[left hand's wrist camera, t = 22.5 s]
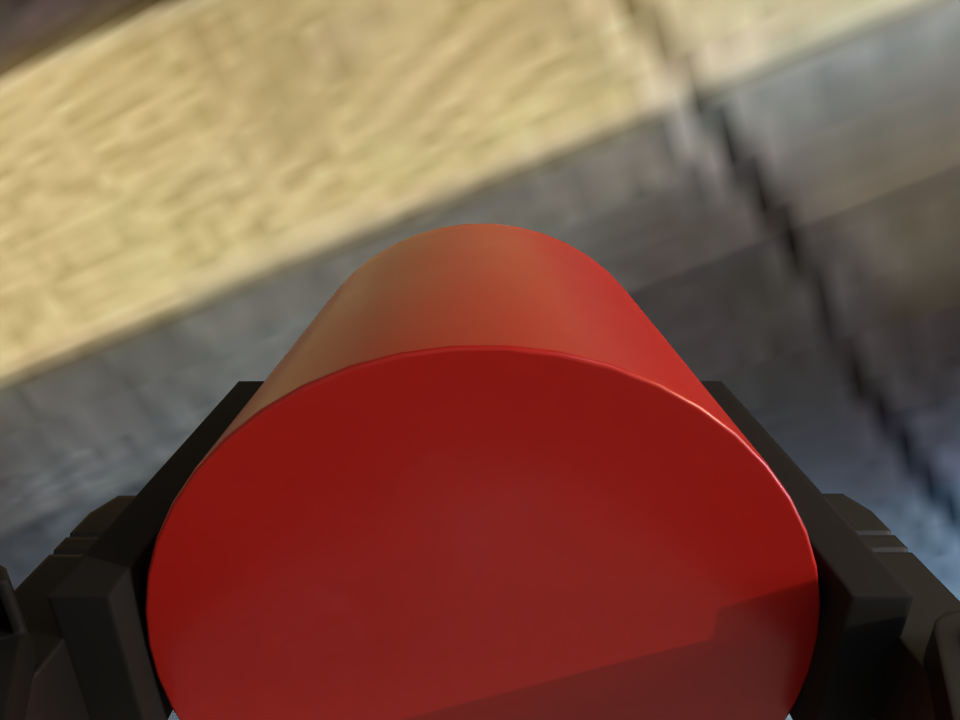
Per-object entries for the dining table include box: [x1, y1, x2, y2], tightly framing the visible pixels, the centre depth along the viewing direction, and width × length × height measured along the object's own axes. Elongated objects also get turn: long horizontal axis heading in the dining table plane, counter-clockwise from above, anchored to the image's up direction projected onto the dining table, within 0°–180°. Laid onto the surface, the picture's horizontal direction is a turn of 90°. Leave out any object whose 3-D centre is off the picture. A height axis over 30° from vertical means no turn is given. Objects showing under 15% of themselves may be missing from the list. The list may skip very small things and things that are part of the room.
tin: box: [145, 224, 820, 720], centre depth 12 cm, size 9×9×8 cm
